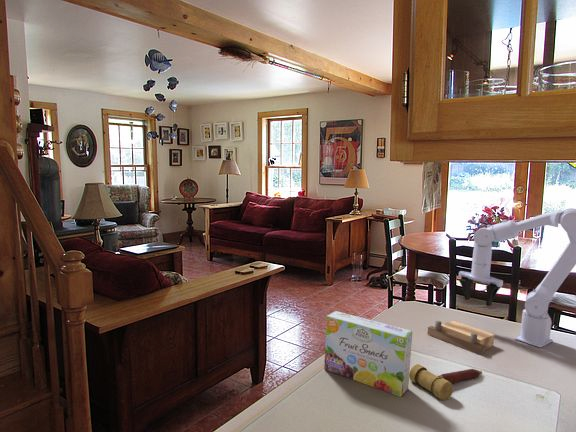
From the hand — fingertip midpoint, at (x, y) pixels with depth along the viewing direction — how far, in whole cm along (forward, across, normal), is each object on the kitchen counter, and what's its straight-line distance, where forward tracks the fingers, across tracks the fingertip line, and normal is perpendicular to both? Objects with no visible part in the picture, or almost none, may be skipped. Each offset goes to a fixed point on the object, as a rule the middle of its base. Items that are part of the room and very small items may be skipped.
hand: (477, 302), depth 143 cm
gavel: (+10, -17, +41) cm, 45 cm away
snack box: (+10, -3, +59) cm, 60 cm away
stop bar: (+9, -3, +18) cm, 21 cm away
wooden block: (+10, -4, +13) cm, 17 cm away
